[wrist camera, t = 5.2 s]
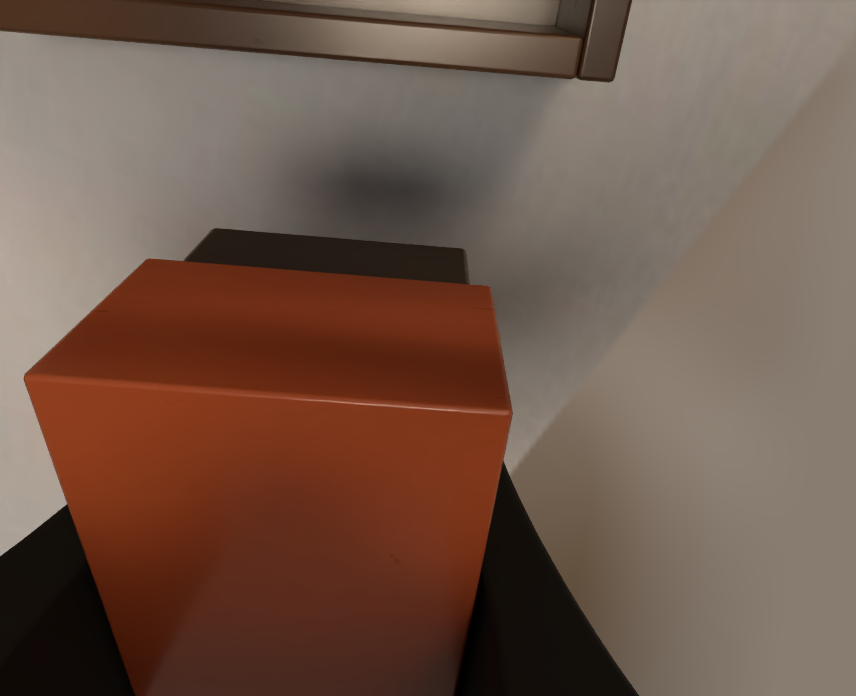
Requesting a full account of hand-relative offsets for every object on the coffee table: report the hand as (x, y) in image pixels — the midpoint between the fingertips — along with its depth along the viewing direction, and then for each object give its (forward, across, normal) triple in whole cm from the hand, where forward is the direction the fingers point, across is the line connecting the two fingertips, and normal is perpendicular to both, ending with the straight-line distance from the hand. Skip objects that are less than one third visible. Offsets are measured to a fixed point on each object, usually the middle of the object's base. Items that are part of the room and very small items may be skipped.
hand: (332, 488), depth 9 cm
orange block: (+1, 0, 0) cm, 1 cm away
